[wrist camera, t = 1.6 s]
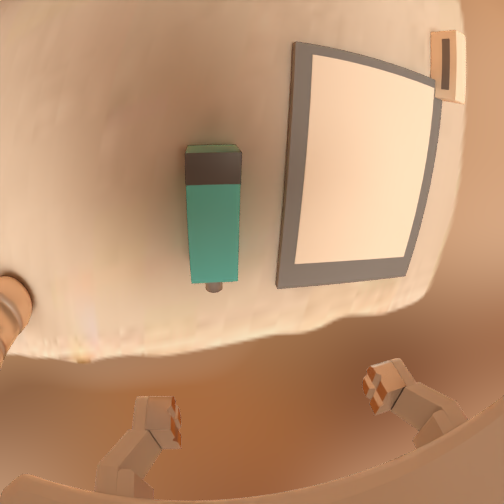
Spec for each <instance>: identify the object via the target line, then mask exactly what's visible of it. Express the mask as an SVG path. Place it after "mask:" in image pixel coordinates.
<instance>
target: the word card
mask: <svg viewBox="0 0 504 504" xmlns="http://www.w3.org/2000/svg"><path fill="white" fill-rule="evenodd" d="M431 78H432V79H434V80H435V95H434V97H435V98H438V99H441V100H442V101H448V102H454V103H460V104H465V87H466V40H465V35H463V34H461V33H460V32H458V31H457V30H449V31H439V32H431Z"/></svg>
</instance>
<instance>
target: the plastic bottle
mask: <svg viewBox="0 0 504 504" xmlns="http://www.w3.org/2000/svg"><path fill="white" fill-rule="evenodd" d="M31 313H32V303H31V298H30V295H29V293H28V291H27V290H26V288H25V287H24V286H23V285H22V283H20V282H19V281H18V280H17V279H15V278H13V277H9V276H3V277H0V369H1V366H2V364H3V360H4V359H5V356H6V354H7V352H8V350H9V349H10V347H11V345H12V344H13V342H14V341H15V339H16V337H17V336H18V335H19V334H20V333H21V332H22V330H23V329H24V328H25V327H26V325H27V324H28V322H29V319H30V316H31Z"/></svg>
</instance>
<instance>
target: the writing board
mask: <svg viewBox="0 0 504 504" xmlns="http://www.w3.org/2000/svg"><path fill="white" fill-rule="evenodd" d="M434 95H435V80H434V79H432V78H429V77H427V76H424V75H422V74H419V73H417V72H414V71H411V70H408V69H406V68H403V67H400V66H397V65H394V64H391V63H388V62H385V61H381V60H378V59H375V58H371V57H368V56H364V55H360V54H356V53H352V52H348V51H344V50H339V49H335V48H330V47H325V46H320V45H314V44H308V43H302V42H294V43H293V53H292V75H291V95H290V113H289V129H288V145H287V159H286V173H285V186H284V199H283V211H282V223H281V234H280V245H279V256H278V266H277V277H276V287H277V289H283V288H295V287H307V286H318V285H329V284H340V283H350V282H359V281H369V280H378V279H386V278H395V277H403V276H406V273H407V270H408V267H409V264H410V260H411V257H412V254H413V251H414V247H415V244H416V241H417V237H418V233H419V230H420V226H421V222H422V218H423V214H424V210H425V206H426V202H427V197H428V193H429V188H430V183H431V178H432V173H433V168H434V162H435V156H436V150H437V143H438V136H439V128H440V119H441V108H442V100H441V99H438V98H435V97H434Z"/></svg>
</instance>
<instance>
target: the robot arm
mask: <svg viewBox="0 0 504 504" xmlns="http://www.w3.org/2000/svg"><path fill="white" fill-rule="evenodd" d="M366 372H367V375H366V376H365V377H364V379H363V382H362V388H363V392H364V394H365V396H366V397H367V398H369V399H370V406H371V408H372V411H373V412H374V414H375V415H378V414H381V413H384V412H387V411H390V410H391V412H393V413H394V414H396V415H397V416H399V417H400V418H401V419H403V420H404V421H405V422H407V423H408V424H410V425H411V426H412V427H414V428H415V429H417V430H418V431H419V432H418V433H417V434H416V436H415V437H414V438H413V443H414V445H415V447H416V449H415V450H413V451H411V452H409V453H407V454H404V455H402V456H400V457H398V458H395V459H393V460H390V461H388V462H386V463H383V464H380V465H378V466H376V467H373V468H370V469H368V470H364V471H362V472H359V473H356V474H353V475H349V476H346V477H344V478H340V479H337V480H333V481H330V482H326V483H322V484H318V485H314V486H310V487H305V488H301V489H297V490H292V491H287V492H281V493H275V494H269V495H263V496H255V497H247V498H237V499H226V500H225V499H224V500H206V501H205V500H203V501H174V500H154V489H153V488H152V487H151V486H149V485H148V484H147V483H146V482H145V481H144V480H143V478H144V477H145V475H146V474H147V472H148V471H149V469H150V468H151V466H152V465H153V463H154V462H155V460H156V459H157V457H158V455H159V454H160V453H161V451H162V449H181V434H180V432H179V429H180V428H181V415H180V410H179V408H178V406H177V405H176V401H175V398H174V396H159V397H158V396H156V397H155V396H138V397H137V398H136V401H135V408H134V416H133V425H132V430H128V431H127V432H126V433H125V435H123V437H122V438H121V439H120V440H119V441H118V442H117V443H116V445H115V446H114V447H113V448H112V449H111V450H110V451H109V452H108V453H107V455H106V456H105V457H104V458H103V459H102V460H101V461H100V462H99V463H98V465H97V472H96V482H95V490H94V492H93V491H88V490H84V489H79V488H75V487H71V486H67V485H63V484H59V483H56V482H52V481H49V480H46V479H43V478H40V477H37V476H34V475H31V474H22V475H20V476H18V477H17V478H16V479H15V480H14V481H12V482H11V483H10V484H9V485H8V486H6V487H5V488H4V489H3V491H2V493H1V496H0V504H504V396H502V397H501V398H500V399H498V400H497V401H496V402H494V403H493V404H491V405H490V406H489V407H487V408H486V409H484V410H483V411H481V412H480V413H479V414H477V415H475V416H474V417H472V418H471V419H469V420H468V418H467V417H466V415H465V414H464V412H463V411H462V409H461V408H460V406H459V404H458V403H457V401H455V400H453V399H451V398H449V397H447V396H445V395H443V394H441V393H439V392H437V391H435V390H434V389H432V388H430V387H428V386H426V385H424V384H422V383H420V382H417V383H416V381H415V380H414V378H413V377H412V375H411V374H410V372H409V371H408V369H407V368H406V366H405V365H404V363H403V362H402V361H401V359H400V358H396V359H392V360H389V361H385V362H382V363H378V364H375V365H372V366H369V367H368V368H367V371H366Z"/></svg>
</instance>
